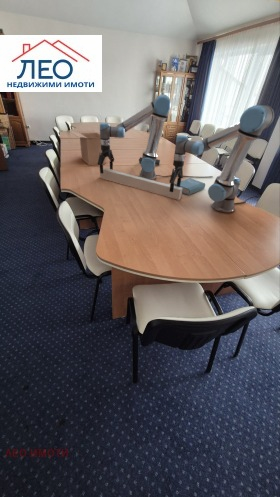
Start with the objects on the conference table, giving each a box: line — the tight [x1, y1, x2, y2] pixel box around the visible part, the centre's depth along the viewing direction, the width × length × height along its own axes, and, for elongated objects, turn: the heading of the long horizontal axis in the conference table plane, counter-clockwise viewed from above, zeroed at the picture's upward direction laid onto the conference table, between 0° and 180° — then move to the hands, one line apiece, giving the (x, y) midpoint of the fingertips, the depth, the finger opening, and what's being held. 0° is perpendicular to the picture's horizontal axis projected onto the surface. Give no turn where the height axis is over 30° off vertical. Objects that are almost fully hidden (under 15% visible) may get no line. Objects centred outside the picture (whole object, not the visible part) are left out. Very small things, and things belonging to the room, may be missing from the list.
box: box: [70, 129, 107, 166], centre depth 229 cm, size 44×36×27 cm
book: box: [174, 177, 206, 196], centre depth 186 cm, size 23×16×5 cm
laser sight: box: [138, 157, 161, 166], centre depth 237 cm, size 10×22×10 cm, turn 78°
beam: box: [99, 167, 183, 201], centre depth 182 cm, size 76×5×8 cm, turn 60°
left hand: (106, 171), depth 193 cm, fingers open, 13 cm apart
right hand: (174, 189), depth 168 cm, fingers open, 13 cm apart
